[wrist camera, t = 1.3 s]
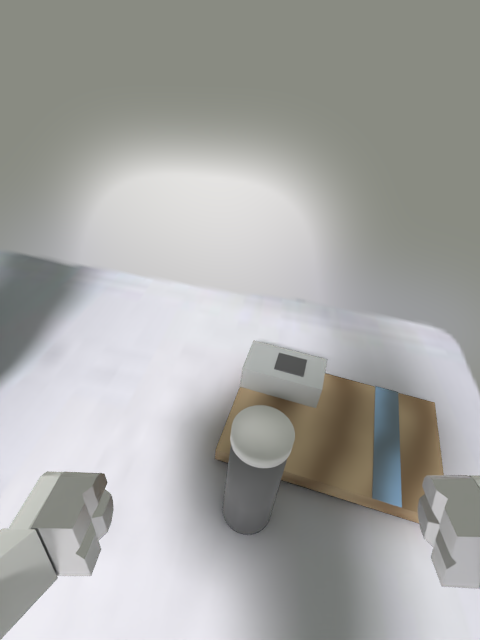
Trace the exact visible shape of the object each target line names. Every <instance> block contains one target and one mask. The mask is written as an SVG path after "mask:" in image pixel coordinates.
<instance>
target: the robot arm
mask: <svg viewBox="0 0 480 640" xmlns="http://www.w3.org/2000/svg"><path fill="white" fill-rule="evenodd" d="M106 485H107V480H106V477H105V474H102V473H80V472H46V473H44V474H43V475H42V476H41V477H40V478H39V480H38V482H37V483H36V485H35V486H34V488H33V490H32V491H31V493H30V494H29V496H28V498H27V499H26V501H25V503H24V504H23V506H22V507H21V509H20V511H19V512H18V514H17V515H16V517H15V519H14V520H13V522H12V524H11V525H10V527H9V528H8V529H2V530H0V640H1V639H2V637H3V636H4V635H5V634H6V633H7V632H8V631H9V630H10V629H11V628H12V627H13V626H14V625H15V624H16V622H17V621H18V620H19V619H20V618H21V617H22V616H23V615H24V614H25V613H26V612H27V611H28V610H29V609H30V607H31V606H32V605H33V604H34V603H35V602H36V601H37V600H38V599H39V598H40V597H41V596H42V595H43V593H44V592H45V591H46V590H47V589H48V588H49V587H50V586H51V585H52V584H53V583H54V582H55V581H56V580H57V578H58V577H57V576H91V575H92V572H93V570H94V567H95V564H96V562H97V559H98V556H99V554H100V551H101V547H100V544H99V540H100V539H101V538H102V537H103V536H104V535H105V534H106V533H107V532H108V530H109V527H110V524H111V521H112V515H113V499H112V496H111V494H110V493H109V492H108V491H106V490H105V487H106ZM422 487H423V490H424V492H425V494H424V495H423V496H422V497H420V498H419V502H418V520H419V524H420V529H421V532H422V534H423V537H424V539H425V540H426V541H427V542H428V543H429V544H430V545H431V546H432V547H433V551H432V555H431V559H432V562H433V565H434V567H435V570H436V573H437V575H438V578H439V581H440V584H441V586H442V587H458V588H476V589H480V476H467V475H427V476H426V477H425V478H424V480H423V484H422Z"/></svg>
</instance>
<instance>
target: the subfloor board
mask: <svg viewBox="0 0 480 640" xmlns="http://www.w3.org/2000/svg"><path fill="white" fill-rule="evenodd" d="M255 405H265V406H270V407H273V408H275V409H277V410H279V411H281V412H282V413H284V414H285V415H286V416H287V417H288V418H289V420H290V421H291V423H292V425H293V427H294V431H295V440H294V443H293V447H292V450H291V453H290V455H289V457H288V458H287V461H286V465H285V468H284V471H283V475H282V478H281V480H283V481H287V482H290V483H293V484H296V485H299V486H302V487H305V488H309V489H312V490H315V491H318V492H321V493H324V494H328V495H331V496H334V497H337V498H340V499H343V500H347V501H350V502H353V503H356V504H359V505H362V506H365V507H369V508H372V509H375V510H378V511H381V512H384V513H388V514H391V515H394V516H397V517H400V518H403V519H407V520H410V521H413V522H416V523H419V520H418V502H419V498H420V497H422V496H423V495H424V494H425V492H424V490H423V487H422V484H423V480H424V478H425V477H426V476H427V475H443V466H442V458H441V450H440V442H439V434H438V426H437V418H436V410H435V403H434V402H430V401H427V400H423V399H419V398H415V397H412V396H408V395H404V394H400V393H398V392H395V391H392V390H388V389H384V388H381V387H377V386H375V387H374V386H370V385H367V384H363V383H359V382H356V381H352V380H348V379H344V378H341V377H337V376H333V375H329V374H326V373H325V376H324V382H323V388H322V392H321V395H320V398H319V401H318V404H317V407H316V408H313V407H310V406H306V405H303V404H299V403H296V402H292V401H289V400H285V399H281V398H278V397H274V396H271V395H267V394H264V393H260V392H257V391H253V390H250V389H246V388H243V387H240V388H239V391H238V393H237V396H236V398H235V401H234V404H233V406H232V409H231V411H230V414H229V416H228V419H227V422H226V424H225V427H224V429H223V432H222V434H221V437H220V440H219V442H218V445H217V447H216V451H215V459H217V460H220V461H223V462H226V463H228V462H229V455H230V447H231V441H230V436H231V428H232V423H233V420H234V418H235V417H236V415H237V414H238V413H239V412H240V411H242V410H243V409H245V408H247V407H250V406H255Z"/></svg>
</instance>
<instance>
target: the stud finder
mask: <svg viewBox="0 0 480 640" xmlns="http://www.w3.org/2000/svg"><path fill="white" fill-rule="evenodd" d="M326 364H327V359H323V358H320V357H316V356H312V355H308V354H304V353H300V352H297V351H293V350H289V349H285V348H281V347H277V346H274V345H270V344H266V343H262V342H258V341H255V340H254V341H253V343H252V346H251V348H250V351H249V353H248V356H247V358H246V361H245V363H244V366H243V368H242V376H241V383H240V387H243V388H246V389H250V390H253V391H257V392H260V393H264V394H267V395H271V396H274V397H278V398H281V399H285V400H289V401H292V402H296V403H299V404H303V405H306V406H310V407H313V408H316V407H317V404H318V401H319V398H320V395H321V392H322V388H323V382H324V376H325V370H326Z"/></svg>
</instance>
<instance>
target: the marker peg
mask: <svg viewBox="0 0 480 640" xmlns="http://www.w3.org/2000/svg"><path fill="white" fill-rule="evenodd" d="M294 440H295V431H294V427H293V425H292V423H291V421H290V420H289V418H288V417H287V416H286V415H285V414H284V413H282V412H281V411H279V410H277V409H275V408H273V407H270V406H265V405H255V406H250V407H247V408H245V409H243V410H242V411H240V412H239V413H238V414H237V415H236V417H235V418H234V420H233V423H232V428H231V436H230V441H231V447H230V455H229V462H228V470H227V478H226V485H225V493H224V501H223V516H224V518H225V521H226V522H227V524H228V525H229V526H230V527H231V528H232V529H233V530H234V531H236V532H238V533H241V534H254V533H257V532H259V531H261V530H262V529H263V528H264V527H265V526H266V525H267V523H268V521H269V518H270V515H271V512H272V508H273V505H274V502H275V498H276V495H277V491H278V488H279V485H280V481H281V478H282V475H283V471H284V468H285V465H286V461H287V458H288V457H289V455H290V453H291V450H292V447H293V443H294Z"/></svg>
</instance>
